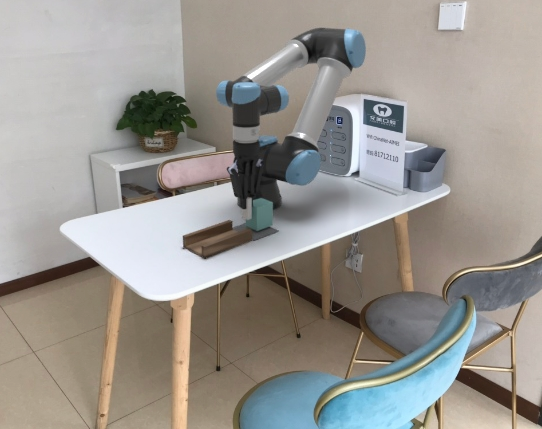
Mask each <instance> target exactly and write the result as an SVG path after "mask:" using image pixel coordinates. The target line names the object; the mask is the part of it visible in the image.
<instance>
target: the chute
mask: <svg viewBox="0 0 542 429" xmlns="http://www.w3.org/2000/svg"><path fill="white" fill-rule="evenodd" d="M233 225H234V224H233V220H231V219H228V220H224V221H222V222H219V223H216V224H213V225H210V226H207V227H205V228H204V227H203V228H201V229H198V230H196V231H192V232H189V233H186V234H184V235H182V247H183V248H185V249H186V250H188V251H190V252H192V253H193V254H195V255H197V256H199V257H201V258H203V259H208V258H210V257H213V256H216V255H219V254H221V253H223V252H226V251H230V250H231V249H234V248H236V247H239V246H242V245H244V244H245V245H246V244H247V243H250V242H252V241H253V240H252V230H251V229H249V228H248V229H245V230H243V231H240V232H237V231H235V230H233V227H234V226H233Z"/></svg>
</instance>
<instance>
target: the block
mask: <svg viewBox="0 0 542 429" xmlns="http://www.w3.org/2000/svg"><path fill="white" fill-rule="evenodd" d="M273 212H274V209H273V202H271V201H268V200H265V199H263V198H259V199H256V200H253V207H252V219H249V220H247V219H244V220H245V222H244V223H245V226H247V227H249V228H251V229H253V230H256V231H259V230H261V229H264V228H267V227H269V226H270V227H272V226H273V222H274V221H273V219H274V216H273V214H274V213H273Z"/></svg>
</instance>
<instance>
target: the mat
mask: <svg viewBox="0 0 542 429" xmlns="http://www.w3.org/2000/svg"><path fill="white" fill-rule="evenodd" d="M248 228H249V227H247V226H245V222H244V223H241V224H239V225H236V226H233V230H235V231H237V232H240V231H243V230H245V229H248ZM249 229H251V228H249ZM251 230H252V241H254V242H255V241H259V240H260V239H263V238H266V237H268V236H270V235H273V234H275V233H278V232H280V230H278V229H276V228H275V227H272V226H269V227H267V228H264V229H261V230H259V231H256V230H253V229H251Z"/></svg>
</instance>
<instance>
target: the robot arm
mask: <svg viewBox="0 0 542 429" xmlns="http://www.w3.org/2000/svg"><path fill="white" fill-rule="evenodd" d="M366 49H367V48H366V40H365V38H364V34H362V33H361V31H359V30H357V29H350V28H331V27H316V28H312V29H309V30H306V31H304V32H302V33H300V34H298V35H296V36H294V37H292V38H291V39H289V40H287V42H286V43H285V46H284V48H282V49H281V50H279V51H277V52H276V53H274V54H273V55H271V56H270V57H268V58H267V59H265V60H264V61H262V62H261V63H259V64H258V65H257V66H255V67H253V68H251V69H249V71H247V72H246V73H244V74H243V75H241V76H240V77H238V78H237V79H235V80H223V81H221V82H220V83H219V84H218V86H217V87H216V91H215V92H216V93H215V96H216V99H217V101H218V103H219V104H221V106H226V107H228V108H232V139H233V141H232V153H233V155H234V158H233V160H232V165H231V166H227V167H226V171H227V173H228V175H229V178H230V183H231V188H232V191H233V195H234V197H235V198H237V199H236V200H237V202H236V203H237V206H238V207H240V209H241V218H242V219H244V220H245V219H247V220H249V219H252V207H253V200H256V199H259V198H263V199H265V200H268V201H271V202H273V210H275V209H277V208H280V207H281V205H282V203H283V202H282V201H283V200H282V194H281V192H280V188H279V185H278V184H279V183H278V181H280V182H284V183H286V184H289V185H293V186H294V185H296V186H301V187H302V186H306V185H308V184H310V183H312V182H313V181H314V179H316V177H317V175H318V174H319V172H320V169H321V162H322V159H321V155H320V153H319V151H320V148H319V146H318V141H319V140H320V139H319V138H320V136H321V134H322V133H323V132H322V131H323V129H324V127H325V124H326V122H327V120H328V118H329V115H330V113H331V109H332V107H333V105H334V103H335V100H336V98H337V95H338V93H339V91H340V89H341V86H342V84H343V81H344V79H347V78H348V77H350V76H351V74H352V71H353V69H357V68H360V67H362V66H363V63H364V62H365V60H366V51H367V50H366ZM309 64H310V65H313V64H315V65H316V64H317V66H318V71H317V73H316V76H315V77H314V80H313V83H312V85H311V88H310V90H309V91H308V95H307V97H306V99H305V101H304V104H303V106H302V109H301V111H300V113H299V116H298V118H297V121H296V122H295V125H294V127H293V130H292V132H291V133H288V134H287V135H285V136H284V139H283V141H282V143H279V140H278V137H277V136H276V135H270V134H269V135H268V134H267V135H260V134H261V130H260V129H261V126H260V124H261V117H262V116H265V115H266V116H267V115H270V114H277V113H279V112H281V111H284V110H285V109H286V108H288V107H287V106H288V105H289V101H290V95H289V93H288V91H287V89H286V88H285V87H284V86H283V85H281V84H280V85H278V84H276V83H277V82H278V81H280V80H282V79H283V78H285V77H286V76H288V74H290V73H291V72H293V71H294V70H296V69H301V68H303V67H305V66H307V65H309ZM275 84H276V85H275Z"/></svg>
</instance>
